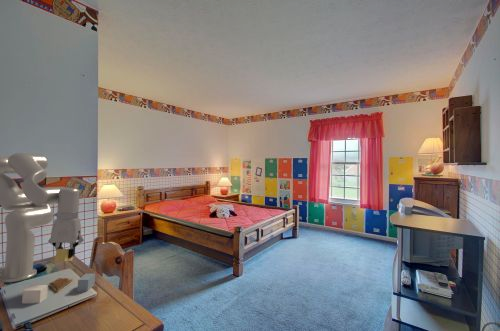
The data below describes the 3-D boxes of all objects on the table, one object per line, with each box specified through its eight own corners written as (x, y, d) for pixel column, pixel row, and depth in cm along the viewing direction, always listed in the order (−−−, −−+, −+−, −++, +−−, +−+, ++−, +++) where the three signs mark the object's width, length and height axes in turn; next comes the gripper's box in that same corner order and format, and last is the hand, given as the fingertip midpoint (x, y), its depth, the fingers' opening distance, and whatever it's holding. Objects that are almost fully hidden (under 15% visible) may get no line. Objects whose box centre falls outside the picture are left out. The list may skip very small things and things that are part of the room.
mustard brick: (64, 261, 101) (67, 248, 102) (54, 261, 100) (57, 249, 102) (72, 260, 106) (74, 248, 108) (62, 260, 106) (65, 248, 107)
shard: (57, 294, 98) (57, 289, 98) (37, 294, 97) (37, 289, 97) (73, 281, 108) (73, 277, 108) (55, 281, 107) (56, 277, 108)
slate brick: (87, 291, 100) (88, 279, 100) (77, 291, 100) (78, 280, 100) (94, 284, 106) (95, 273, 106) (84, 284, 105) (85, 273, 106)
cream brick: (22, 303, 89) (23, 290, 89) (30, 297, 93) (31, 285, 93) (39, 303, 90) (40, 290, 90) (47, 297, 94) (47, 285, 94)
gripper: (40, 217, 100) (38, 260, 99) (83, 217, 102) (81, 260, 102) (52, 214, 107) (50, 254, 107) (92, 214, 110) (90, 253, 109)
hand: (65, 256), depth 104 cm, fingers closed on mustard brick, 4 cm apart
